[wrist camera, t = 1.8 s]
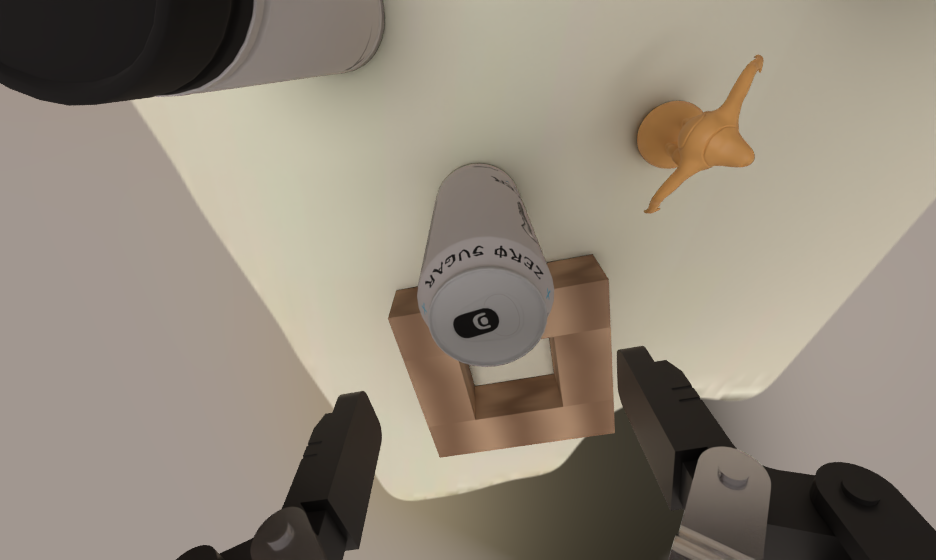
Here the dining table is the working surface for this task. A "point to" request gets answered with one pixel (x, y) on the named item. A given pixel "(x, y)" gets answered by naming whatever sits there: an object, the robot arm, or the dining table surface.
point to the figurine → (696, 136)
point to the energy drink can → (483, 271)
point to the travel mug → (178, 45)
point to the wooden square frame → (525, 400)
